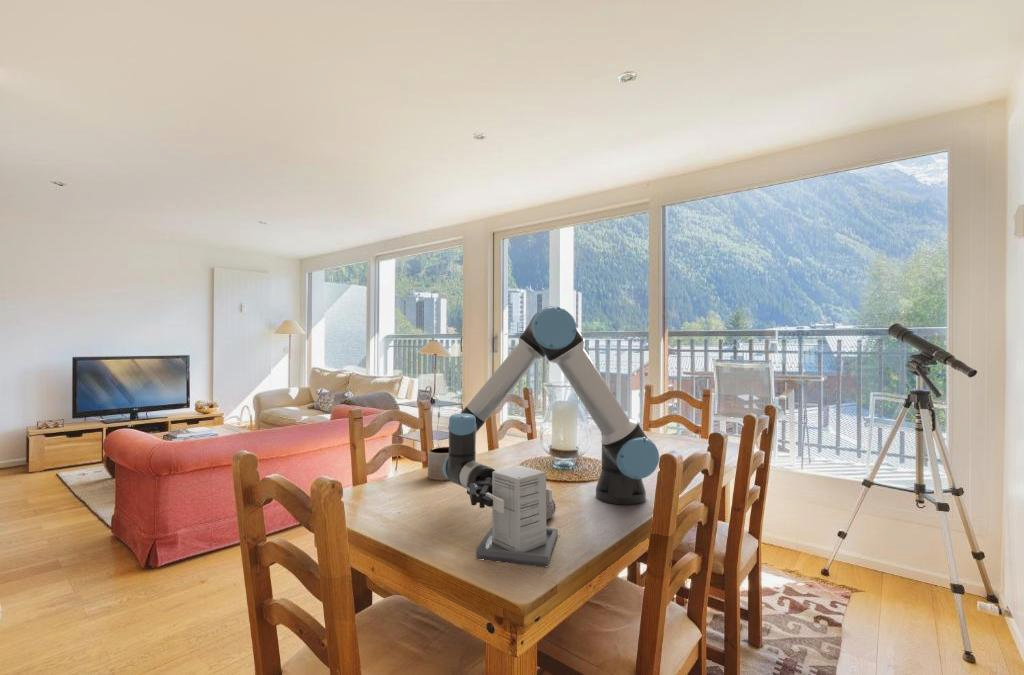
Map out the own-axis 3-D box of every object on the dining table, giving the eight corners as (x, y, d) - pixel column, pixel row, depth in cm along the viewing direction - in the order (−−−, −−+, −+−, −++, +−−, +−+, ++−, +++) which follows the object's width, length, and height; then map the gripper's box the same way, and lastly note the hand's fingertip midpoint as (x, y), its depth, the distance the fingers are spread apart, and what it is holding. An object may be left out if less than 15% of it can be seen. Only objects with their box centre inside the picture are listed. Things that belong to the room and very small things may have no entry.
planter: (421, 478, 173) (421, 450, 173) (442, 471, 182) (442, 445, 182) (444, 483, 166) (444, 454, 166) (465, 476, 175) (465, 449, 175)
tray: (557, 537, 121) (557, 528, 121) (547, 567, 105) (548, 556, 105) (494, 531, 125) (494, 523, 125) (476, 559, 109) (476, 549, 109)
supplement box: (547, 544, 115) (548, 472, 115) (518, 556, 108) (519, 479, 109) (519, 532, 122) (520, 464, 122) (490, 542, 116) (491, 470, 116)
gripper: (518, 485, 137) (569, 507, 119) (436, 501, 123) (480, 529, 105) (518, 458, 137) (569, 476, 119) (436, 471, 123) (480, 494, 105)
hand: (527, 501), depth 112 cm, fingers open, 13 cm apart
